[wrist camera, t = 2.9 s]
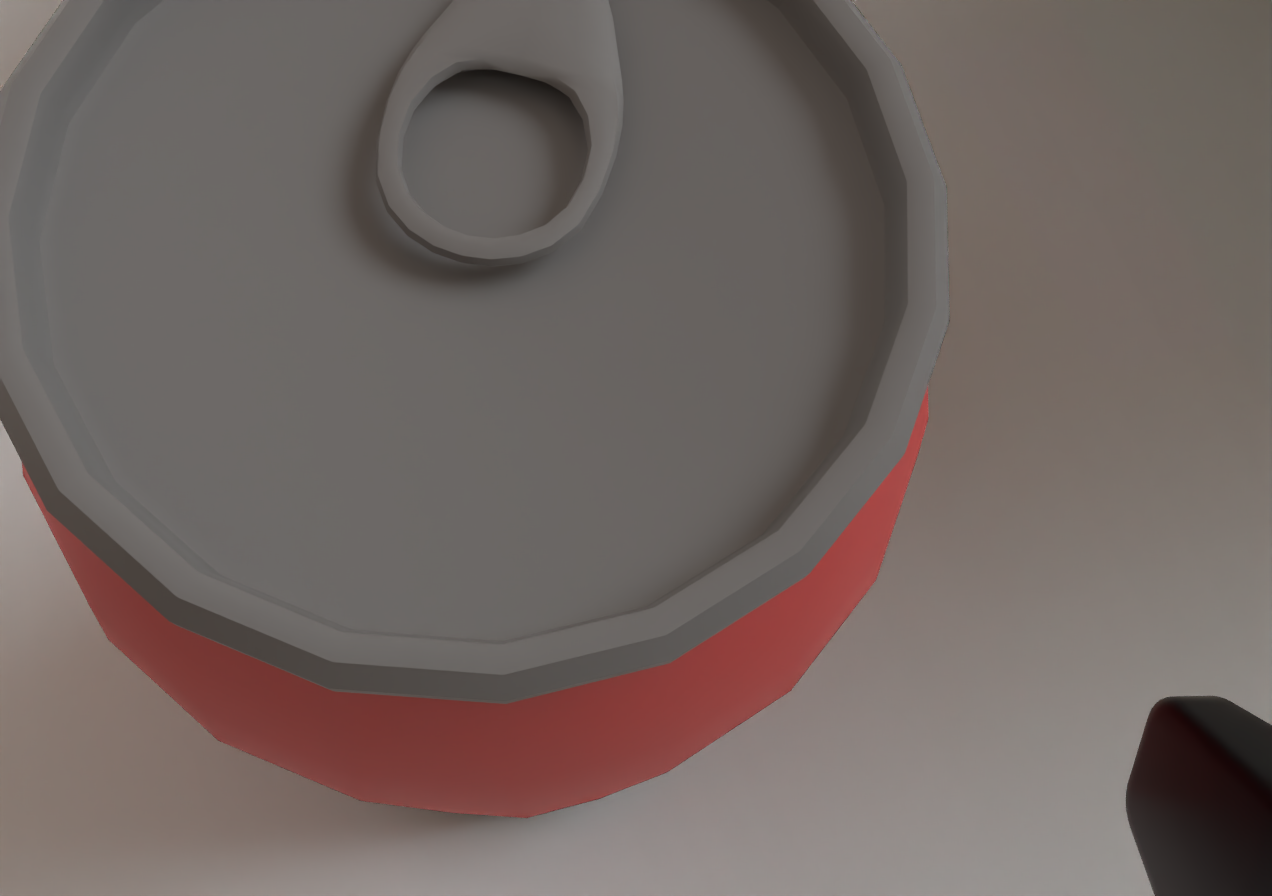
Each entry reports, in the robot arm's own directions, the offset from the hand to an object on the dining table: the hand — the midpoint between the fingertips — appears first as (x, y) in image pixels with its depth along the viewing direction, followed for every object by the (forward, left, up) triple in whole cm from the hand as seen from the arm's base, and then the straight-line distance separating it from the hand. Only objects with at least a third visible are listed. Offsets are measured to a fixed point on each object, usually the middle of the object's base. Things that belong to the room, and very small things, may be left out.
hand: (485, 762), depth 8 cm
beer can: (+3, +1, -10) cm, 11 cm away
